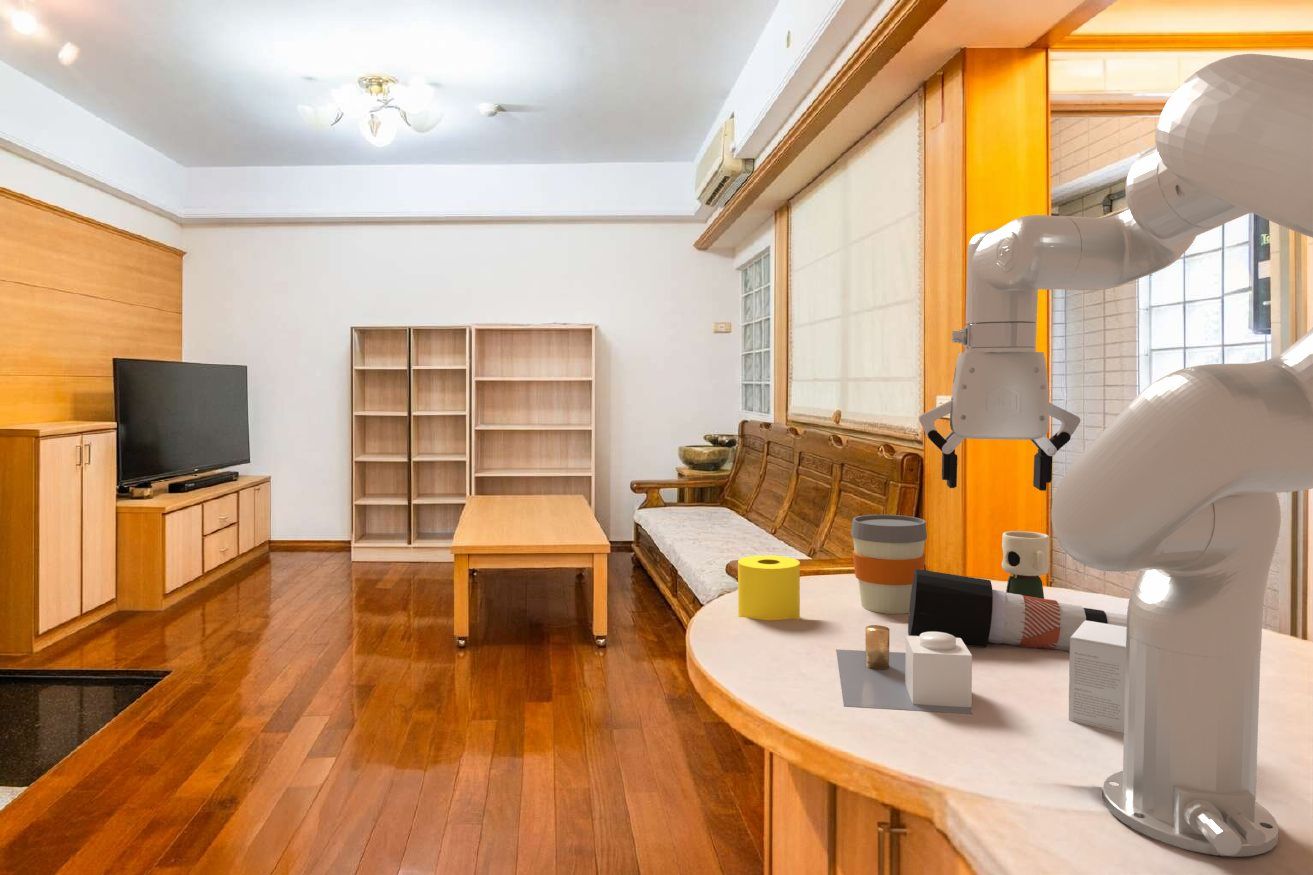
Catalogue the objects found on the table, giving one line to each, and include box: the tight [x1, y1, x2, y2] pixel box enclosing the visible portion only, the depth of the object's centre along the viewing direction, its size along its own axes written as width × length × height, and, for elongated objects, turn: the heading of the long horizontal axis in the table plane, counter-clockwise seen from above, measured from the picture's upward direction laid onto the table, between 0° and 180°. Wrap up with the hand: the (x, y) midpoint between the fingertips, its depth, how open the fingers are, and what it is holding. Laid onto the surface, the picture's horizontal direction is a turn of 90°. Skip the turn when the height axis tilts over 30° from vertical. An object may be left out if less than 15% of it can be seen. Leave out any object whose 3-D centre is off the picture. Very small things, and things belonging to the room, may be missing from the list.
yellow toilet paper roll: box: [737, 554, 801, 621], centre depth 129 cm, size 10×10×9 cm
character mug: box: [1001, 530, 1050, 599], centre depth 131 cm, size 11×7×13 cm, turn 1°
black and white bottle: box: [907, 569, 1127, 653], centre depth 111 cm, size 10×34×10 cm
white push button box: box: [905, 632, 973, 708], centre depth 92 cm, size 6×6×7 cm
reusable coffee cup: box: [850, 514, 928, 615], centre depth 135 cm, size 13×13×15 cm
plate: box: [835, 649, 974, 715], centre depth 98 cm, size 20×14×1 cm
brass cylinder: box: [864, 624, 890, 670], centre depth 102 cm, size 3×3×5 cm
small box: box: [1068, 620, 1127, 734], centre depth 86 cm, size 8×6×10 cm
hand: (995, 487), depth 92 cm, fingers open, 9 cm apart
